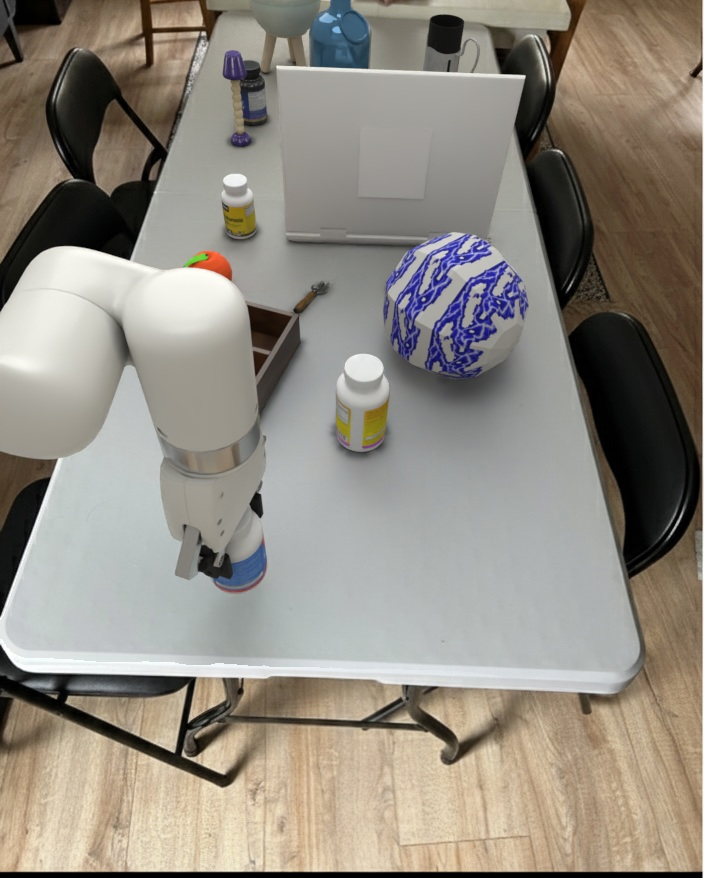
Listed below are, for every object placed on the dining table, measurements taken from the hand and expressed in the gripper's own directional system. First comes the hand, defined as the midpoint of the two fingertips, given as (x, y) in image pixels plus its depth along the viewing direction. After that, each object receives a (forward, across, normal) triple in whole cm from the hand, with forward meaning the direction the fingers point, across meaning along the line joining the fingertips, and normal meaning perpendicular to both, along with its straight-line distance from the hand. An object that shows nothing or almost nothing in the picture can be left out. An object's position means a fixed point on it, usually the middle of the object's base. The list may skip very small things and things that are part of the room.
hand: (232, 540), depth 60 cm
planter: (+12, -126, -47) cm, 135 cm away
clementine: (+12, -45, -27) cm, 53 cm away
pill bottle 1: (+6, 0, 0) cm, 6 cm away
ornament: (+11, -44, +12) cm, 47 cm away
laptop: (+11, -79, -8) cm, 80 cm away
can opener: (+11, -49, -11) cm, 51 cm away
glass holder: (+11, -127, -7) cm, 127 cm away
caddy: (+12, -30, -13) cm, 35 cm away
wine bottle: (+12, -115, -29) cm, 119 cm away
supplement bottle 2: (+11, -26, +5) cm, 28 cm away
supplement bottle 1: (+12, -62, -29) cm, 69 cm away
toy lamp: (+12, -91, -42) cm, 101 cm away
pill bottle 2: (+12, -100, -44) cm, 110 cm away
